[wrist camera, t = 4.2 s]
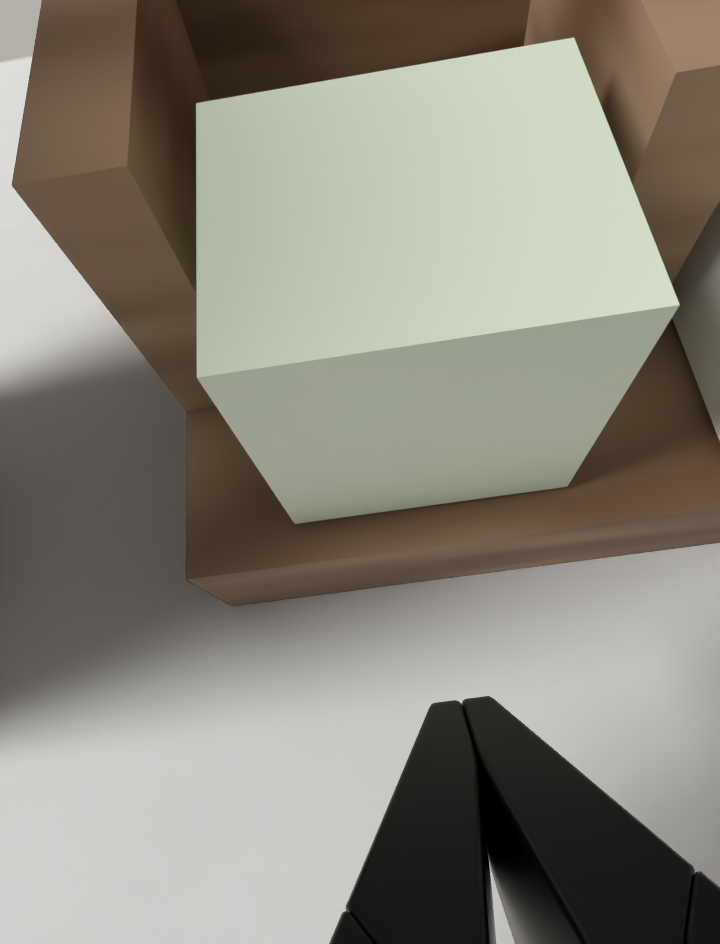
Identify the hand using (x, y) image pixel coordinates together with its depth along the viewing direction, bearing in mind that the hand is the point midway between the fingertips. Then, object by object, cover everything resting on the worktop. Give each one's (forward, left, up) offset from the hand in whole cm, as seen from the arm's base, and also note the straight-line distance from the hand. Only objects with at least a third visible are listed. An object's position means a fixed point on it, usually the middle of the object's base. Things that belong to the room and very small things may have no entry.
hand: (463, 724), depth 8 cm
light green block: (+5, -6, -6) cm, 10 cm away
